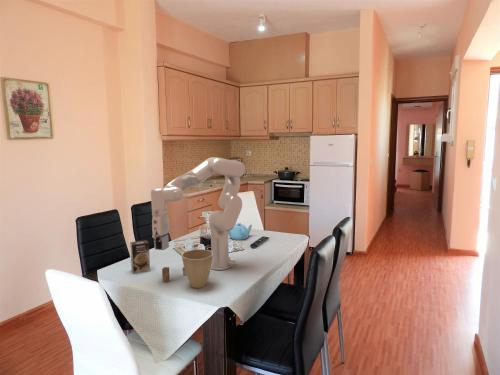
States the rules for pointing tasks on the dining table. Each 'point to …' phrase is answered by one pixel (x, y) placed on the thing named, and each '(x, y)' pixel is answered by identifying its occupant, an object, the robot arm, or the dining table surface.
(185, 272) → the short post
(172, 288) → the dining table surface
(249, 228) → the teapot
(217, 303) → the dining table surface
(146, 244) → the coffee box
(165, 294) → the dining table surface
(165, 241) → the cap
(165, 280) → the post
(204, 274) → the plant pot
